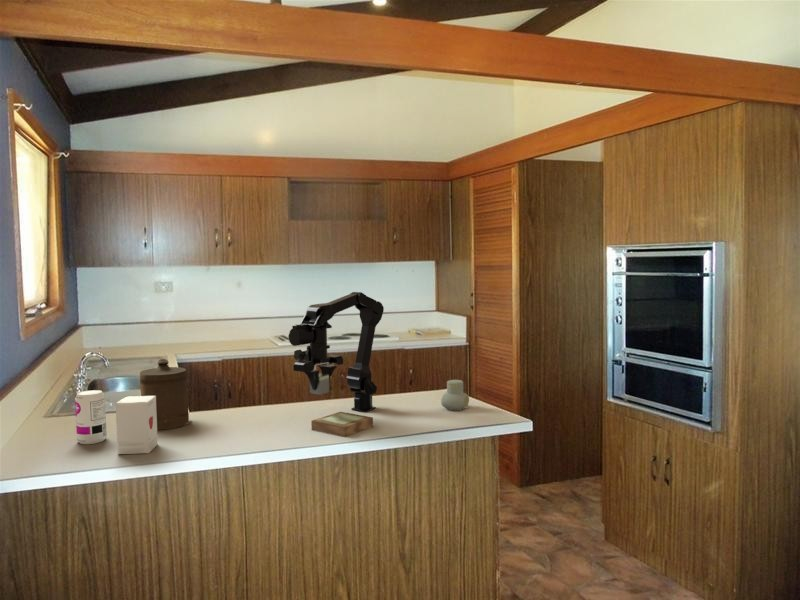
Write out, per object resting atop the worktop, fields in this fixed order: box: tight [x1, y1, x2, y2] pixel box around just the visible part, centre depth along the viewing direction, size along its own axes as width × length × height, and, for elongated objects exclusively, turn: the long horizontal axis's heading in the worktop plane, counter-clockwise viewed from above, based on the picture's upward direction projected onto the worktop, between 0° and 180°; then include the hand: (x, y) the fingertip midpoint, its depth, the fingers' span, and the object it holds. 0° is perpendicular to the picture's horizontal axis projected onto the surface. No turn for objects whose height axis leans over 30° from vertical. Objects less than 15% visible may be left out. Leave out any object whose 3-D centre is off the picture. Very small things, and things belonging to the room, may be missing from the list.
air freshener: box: [440, 379, 470, 411], centre depth 229 cm, size 11×8×10 cm
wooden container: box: [139, 358, 190, 431], centre depth 212 cm, size 15×15×22 cm
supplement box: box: [115, 395, 159, 455], centre depth 185 cm, size 9×9×15 cm
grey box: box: [309, 372, 330, 396], centre depth 214 cm, size 5×5×6 cm
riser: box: [311, 411, 374, 438], centre depth 205 cm, size 14×14×3 cm
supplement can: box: [74, 389, 108, 445], centre depth 194 cm, size 8×8×15 cm
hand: (319, 388), depth 214 cm, fingers closed on grey box, 5 cm apart
